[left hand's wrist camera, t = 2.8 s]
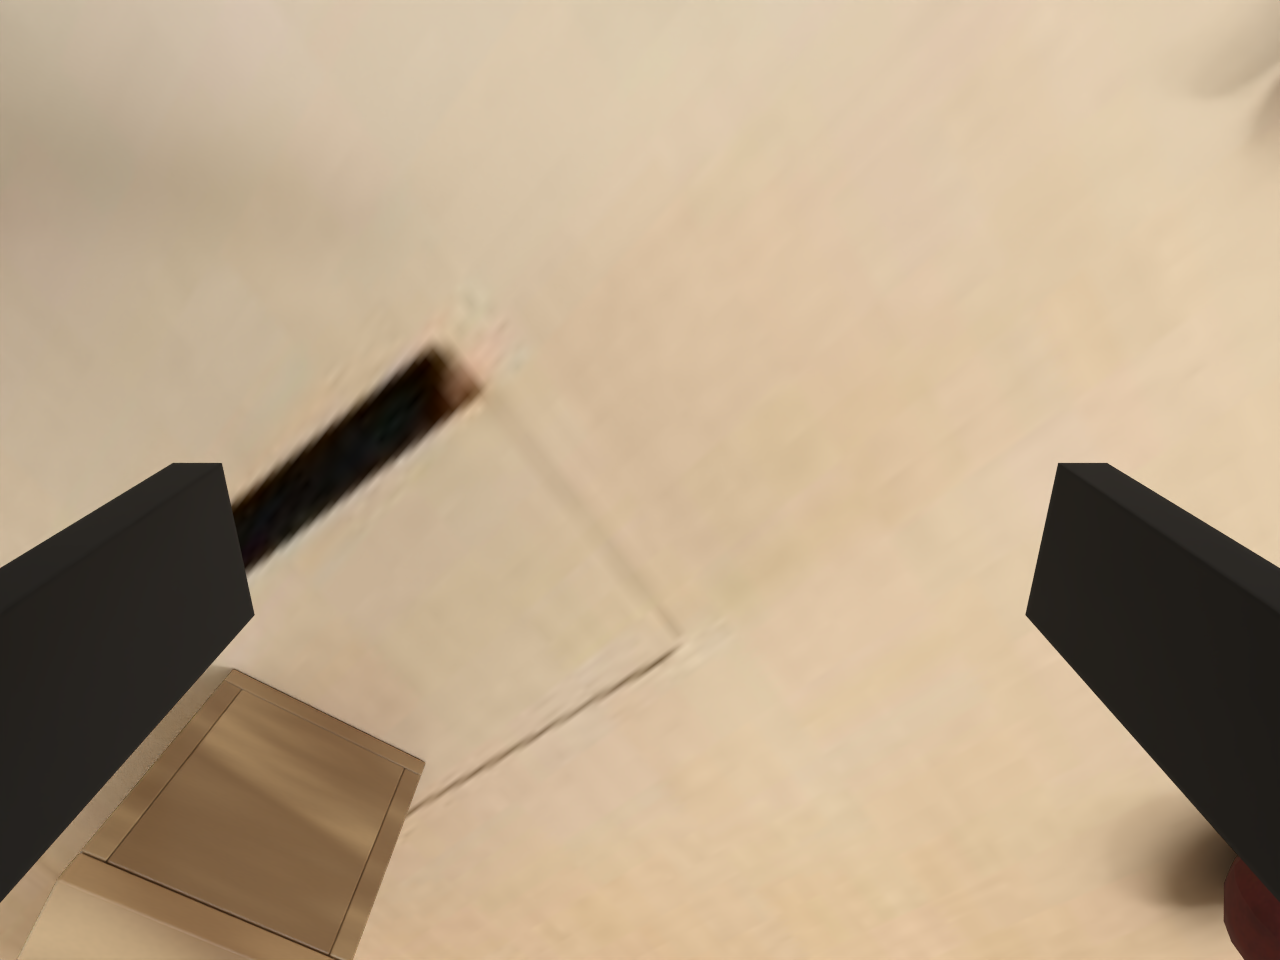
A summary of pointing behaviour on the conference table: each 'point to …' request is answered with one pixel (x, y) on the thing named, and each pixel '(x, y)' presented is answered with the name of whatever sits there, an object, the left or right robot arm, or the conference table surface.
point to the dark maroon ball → (1251, 914)
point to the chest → (268, 816)
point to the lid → (142, 923)
